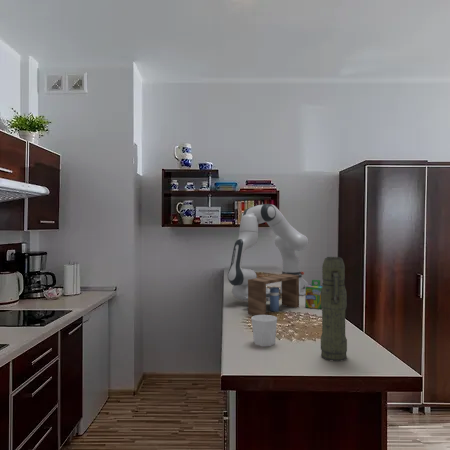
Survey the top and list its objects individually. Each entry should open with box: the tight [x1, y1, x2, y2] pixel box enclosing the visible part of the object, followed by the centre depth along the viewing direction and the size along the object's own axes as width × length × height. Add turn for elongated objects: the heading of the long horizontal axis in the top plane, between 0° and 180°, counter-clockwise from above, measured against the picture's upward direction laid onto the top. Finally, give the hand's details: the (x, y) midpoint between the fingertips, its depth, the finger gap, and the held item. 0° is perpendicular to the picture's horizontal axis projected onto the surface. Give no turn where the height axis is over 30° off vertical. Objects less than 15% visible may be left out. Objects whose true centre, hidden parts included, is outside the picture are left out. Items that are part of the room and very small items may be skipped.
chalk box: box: [304, 279, 322, 310], centre depth 214 cm, size 9×9×15 cm
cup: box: [250, 314, 278, 347], centre depth 153 cm, size 10×10×10 cm
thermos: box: [320, 256, 348, 362], centre depth 137 cm, size 9×12×35 cm
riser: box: [247, 273, 300, 316], centre depth 207 cm, size 30×10×18 cm, turn 133°
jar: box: [269, 286, 280, 312], centre depth 207 cm, size 5×5×12 cm
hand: (275, 298), depth 206 cm, fingers open, 8 cm apart
